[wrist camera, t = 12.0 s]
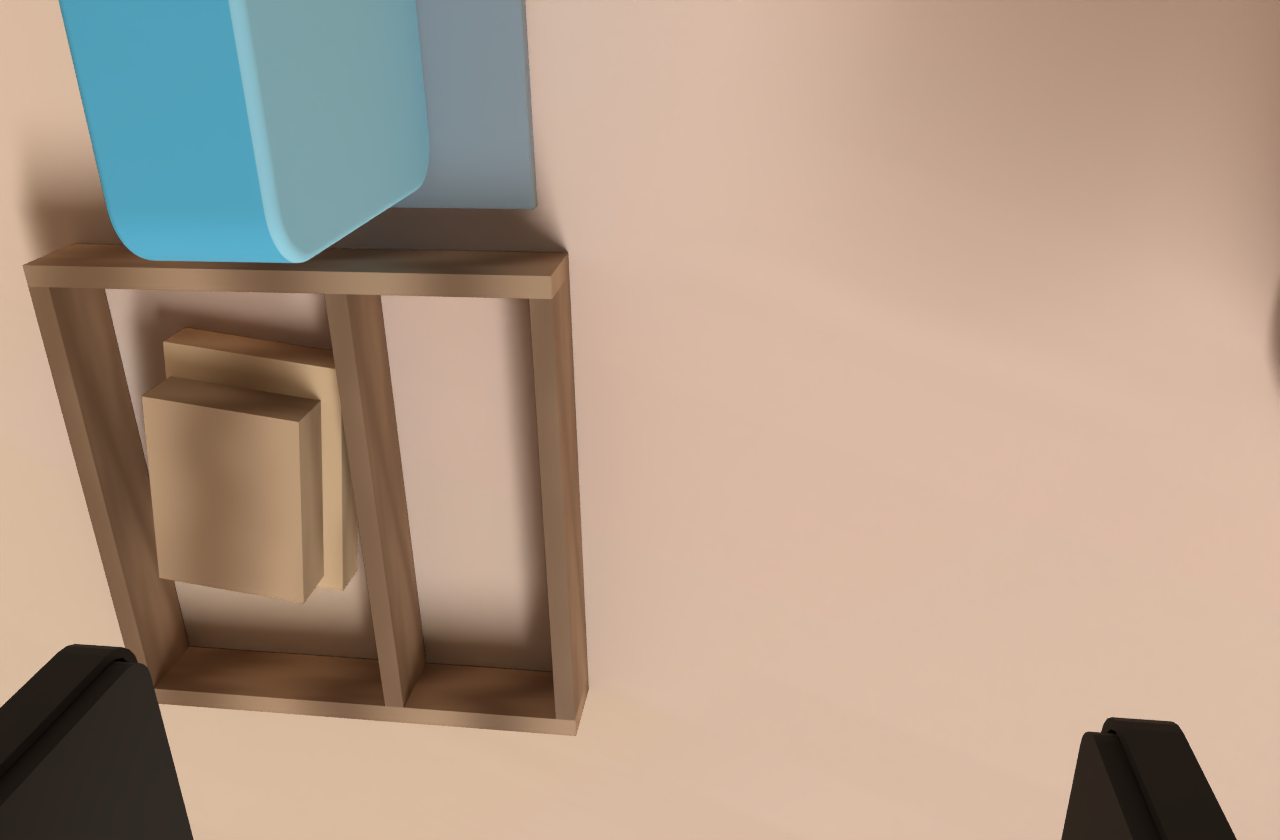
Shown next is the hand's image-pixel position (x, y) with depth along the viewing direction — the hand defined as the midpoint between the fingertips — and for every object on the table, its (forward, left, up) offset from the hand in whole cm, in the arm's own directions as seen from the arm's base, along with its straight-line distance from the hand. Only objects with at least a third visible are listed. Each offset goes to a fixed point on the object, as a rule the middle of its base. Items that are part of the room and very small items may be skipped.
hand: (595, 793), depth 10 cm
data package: (+13, -6, -28) cm, 31 cm away
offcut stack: (+19, +11, -29) cm, 36 cm away
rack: (+15, +12, -28) cm, 34 cm away
